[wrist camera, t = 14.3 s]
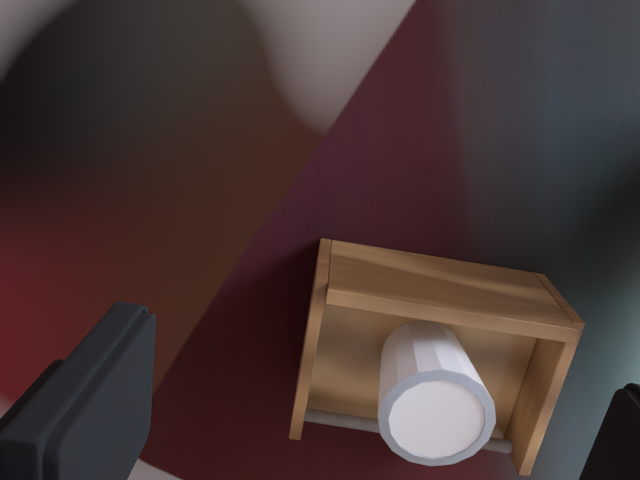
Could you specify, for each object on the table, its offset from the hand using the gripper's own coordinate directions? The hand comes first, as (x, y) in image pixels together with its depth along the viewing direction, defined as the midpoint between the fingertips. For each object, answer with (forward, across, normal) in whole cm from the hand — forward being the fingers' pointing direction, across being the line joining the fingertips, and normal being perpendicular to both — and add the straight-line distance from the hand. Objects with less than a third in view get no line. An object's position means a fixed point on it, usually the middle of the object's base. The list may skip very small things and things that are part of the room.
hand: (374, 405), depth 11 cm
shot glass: (+24, -7, +13) cm, 29 cm away
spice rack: (+28, -7, +14) cm, 32 cm away
